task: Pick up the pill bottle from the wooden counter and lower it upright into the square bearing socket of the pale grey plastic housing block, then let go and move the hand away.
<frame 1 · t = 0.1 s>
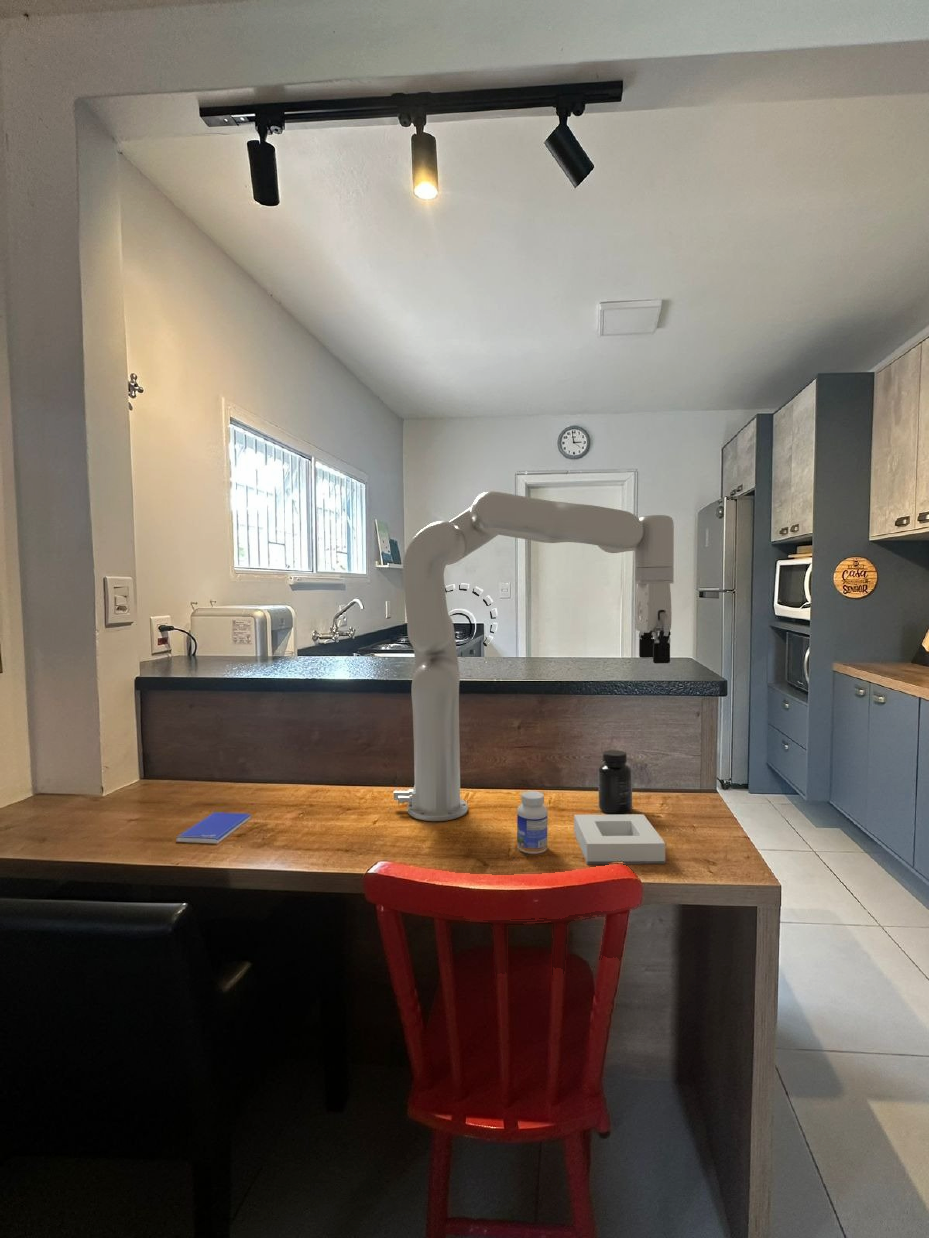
hand: (653, 660, 124), 31 cm above the table, tool pointing down, fingers open, 9 cm apart
supplement bottle: (615, 810, 126), on the table
pill bottle: (532, 849, 108), on the table
housing: (616, 847, 107), on the table
hard drive: (215, 832, 118), on the table
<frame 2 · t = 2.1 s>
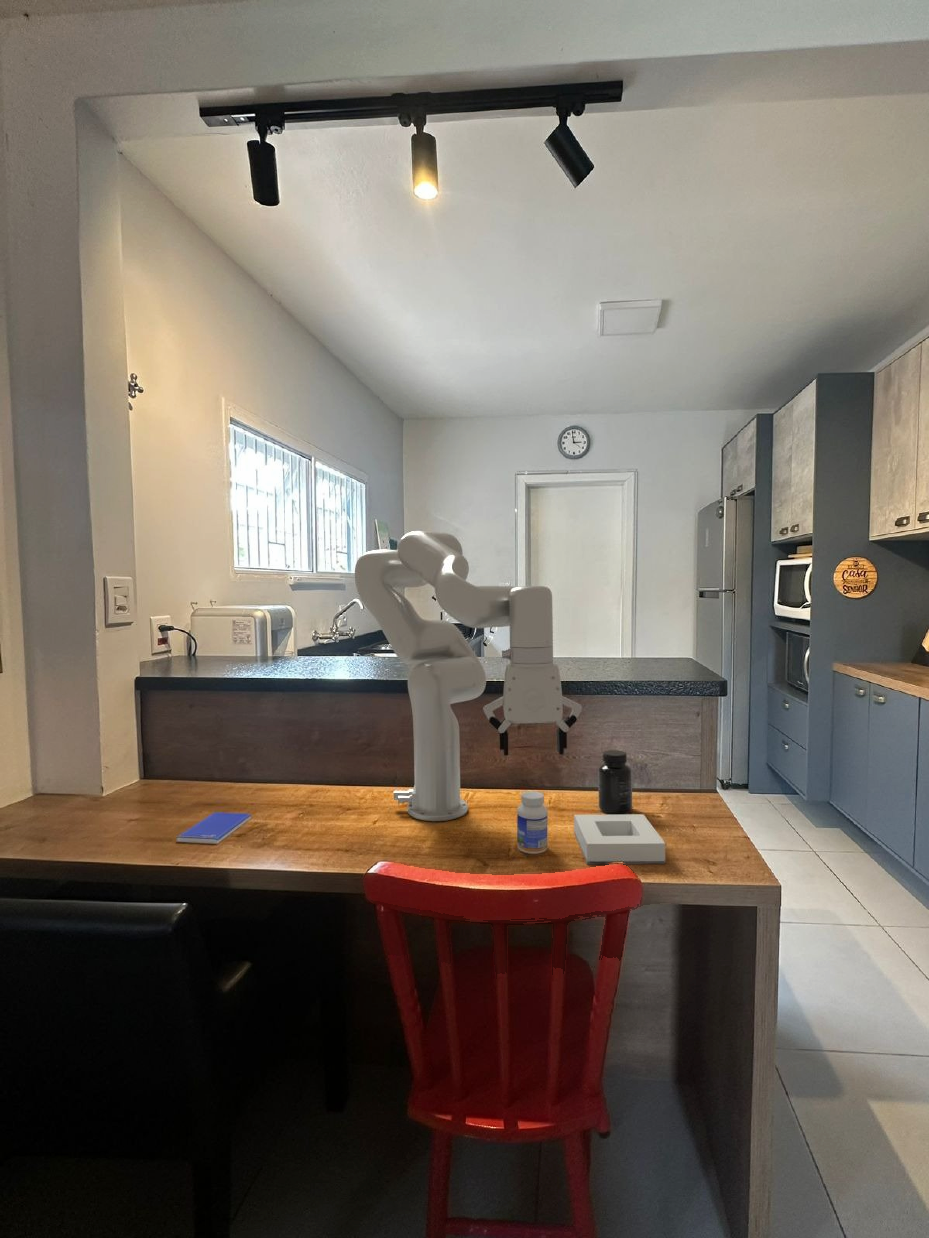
hand: (533, 753, 107), 17 cm above the table, tool pointing down, fingers open, 9 cm apart
nothing on the table moved.
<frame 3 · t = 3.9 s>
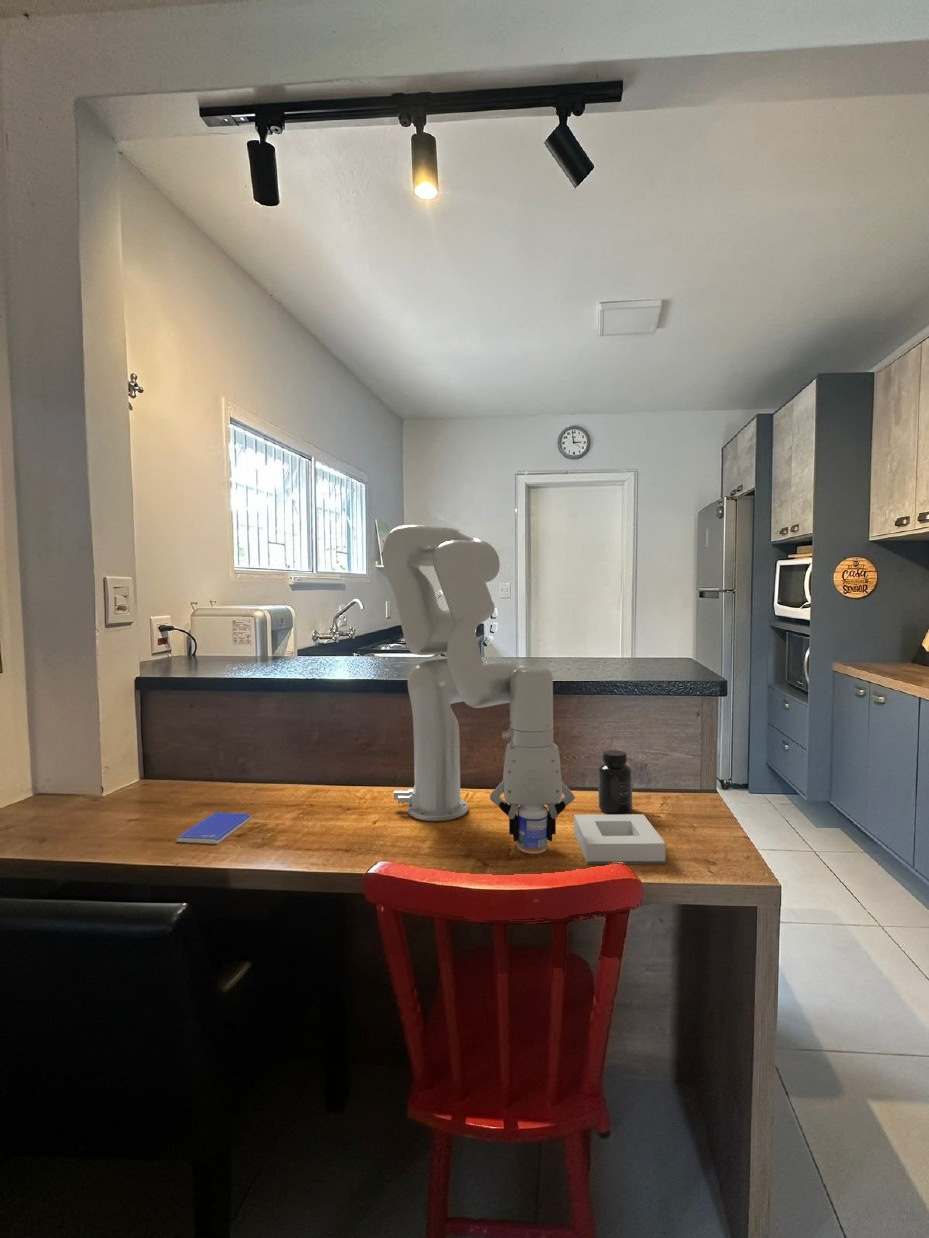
hand: (532, 837, 108), 2 cm above the table, tool pointing down, fingers closed on pill bottle, 5 cm apart
pill bottle: (532, 849, 108), on the table, touching gripper
everything else where it was.
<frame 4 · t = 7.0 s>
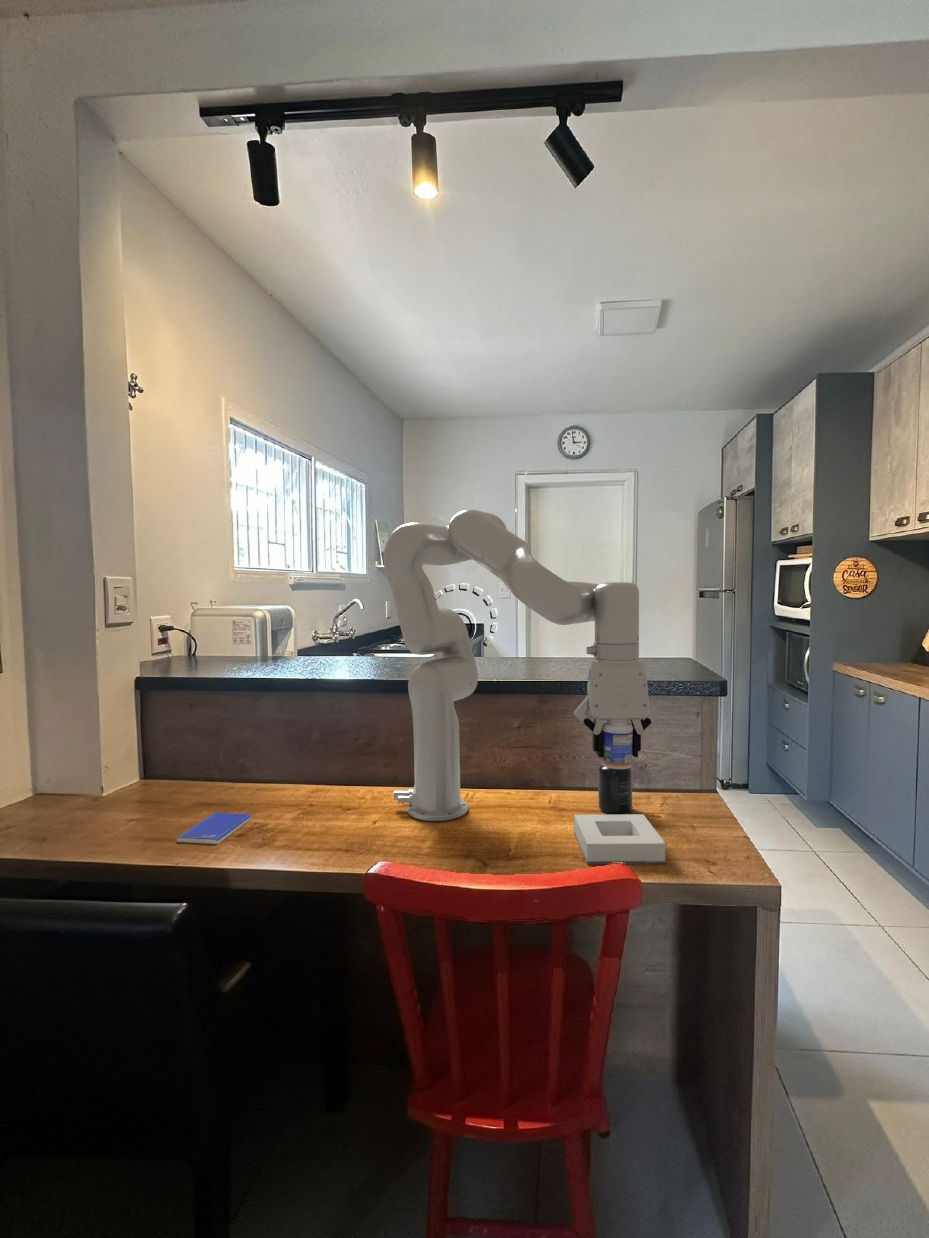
hand: (616, 754, 107), 17 cm above the table, tool pointing down, fingers closed on pill bottle, 5 cm apart
pill bottle: (616, 766, 107), point 15 cm above the table, touching gripper
everything else where it was.
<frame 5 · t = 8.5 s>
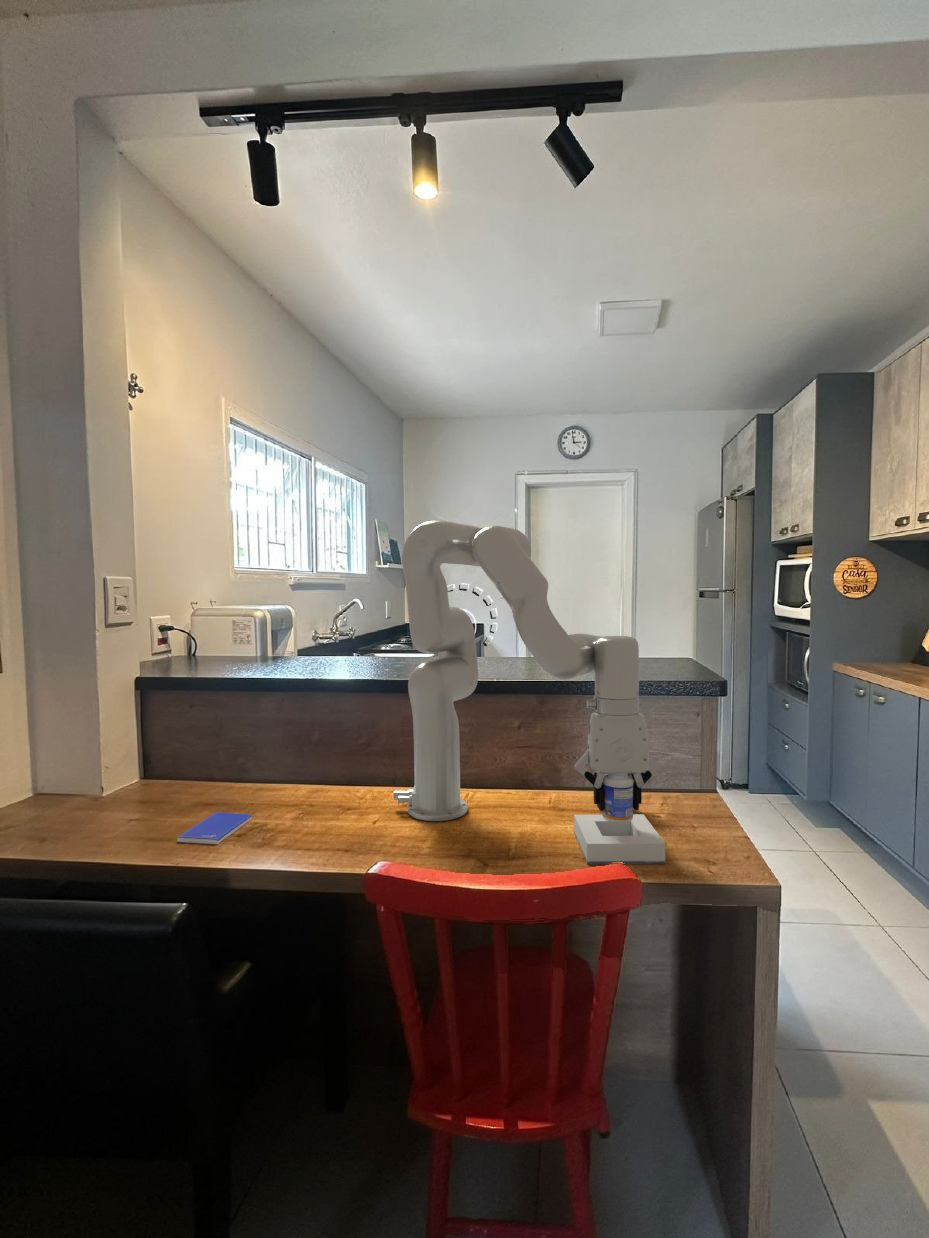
hand: (617, 806, 107), 7 cm above the table, tool pointing down, fingers closed on pill bottle, 5 cm apart
pill bottle: (617, 819, 107), point 5 cm above the table, touching gripper
everything else where it was.
when the fingers open (5 cm above the table, at t = 9.9 s): pill bottle drops 2 cm, resting on housing.
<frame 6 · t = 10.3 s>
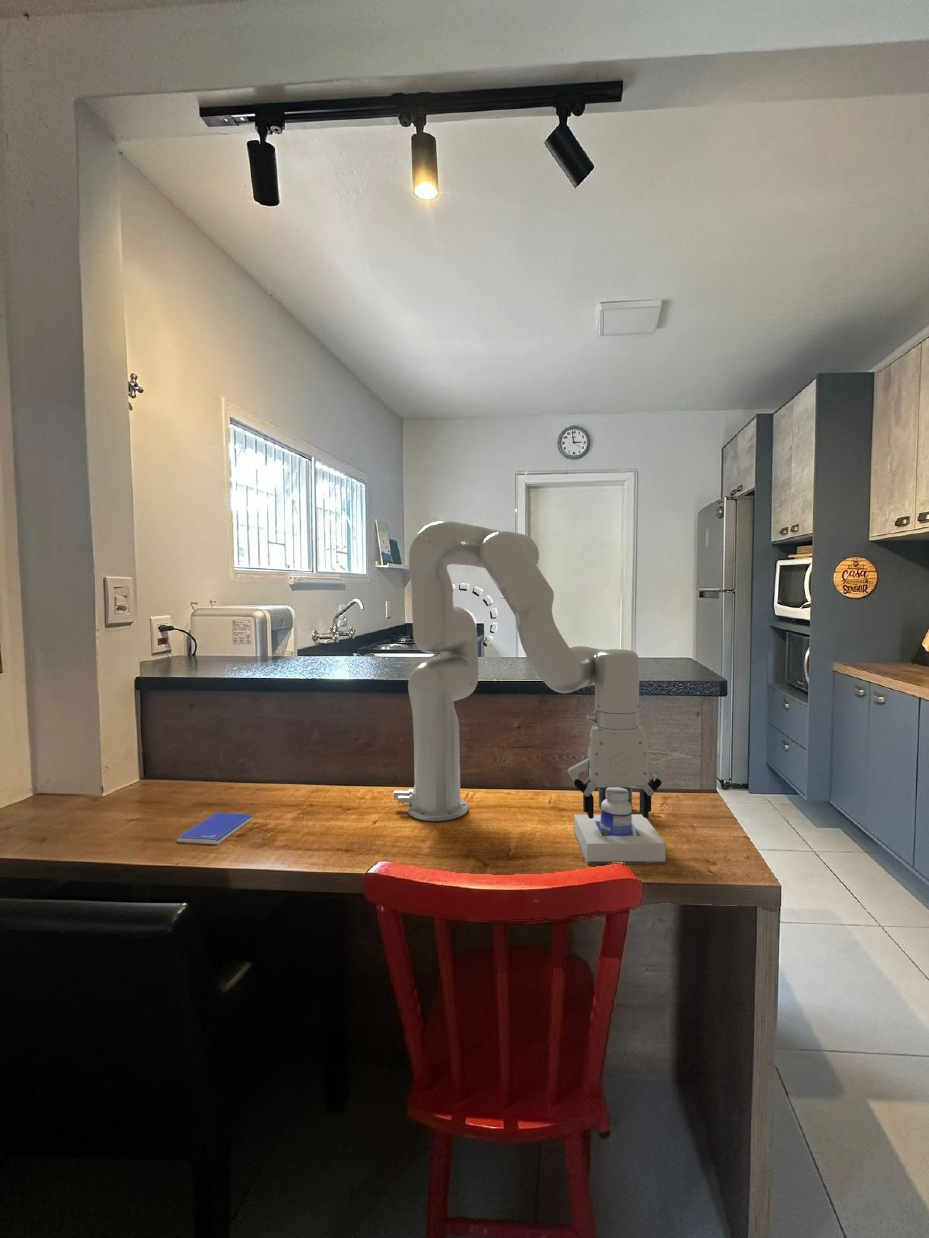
hand: (616, 815, 107), 6 cm above the table, tool pointing down, fingers open, 9 cm apart
pill bottle: (615, 845, 108), resting on housing
everything else where it was.
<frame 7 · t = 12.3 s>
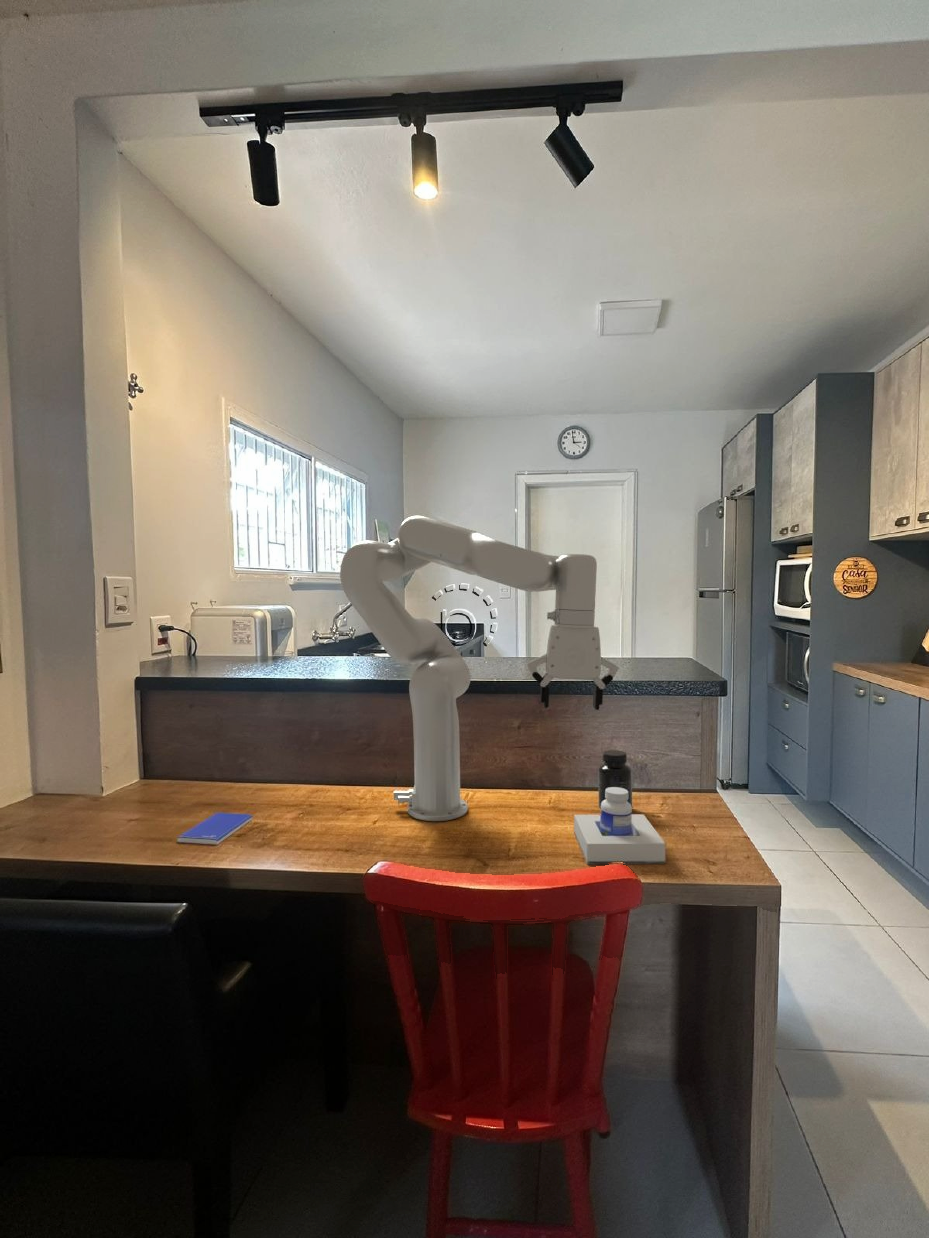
hand: (570, 707, 117), 23 cm above the table, tool pointing down, fingers open, 9 cm apart
nothing on the table moved.
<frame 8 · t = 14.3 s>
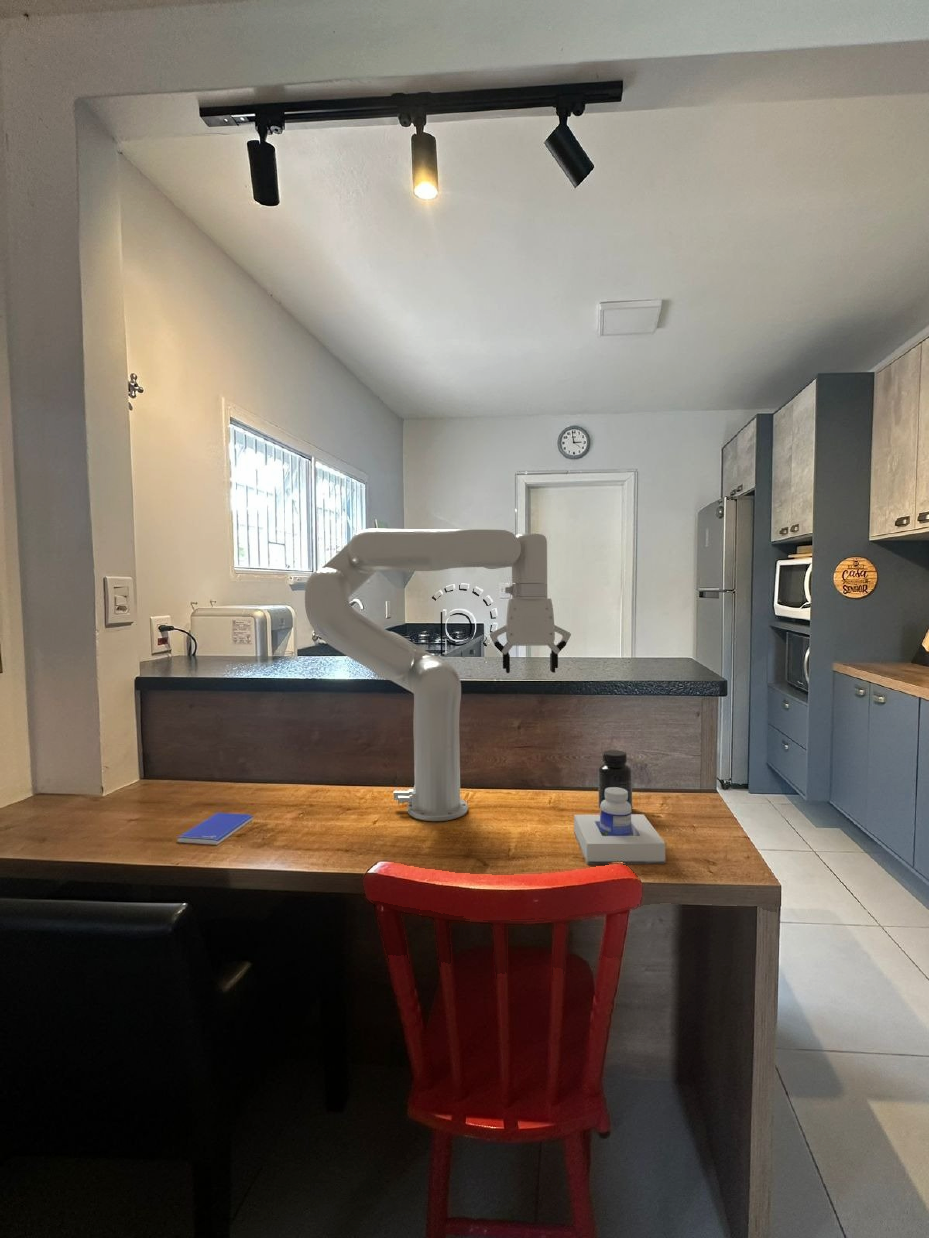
hand: (530, 672, 130), 28 cm above the table, tool pointing down, fingers open, 9 cm apart
nothing on the table moved.
at the end: pill bottle 0.2 cm off-centre on the housing, point 0.3 cm above the housing's base; pill bottle tilted 1°; the gripper is holding nothing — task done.
